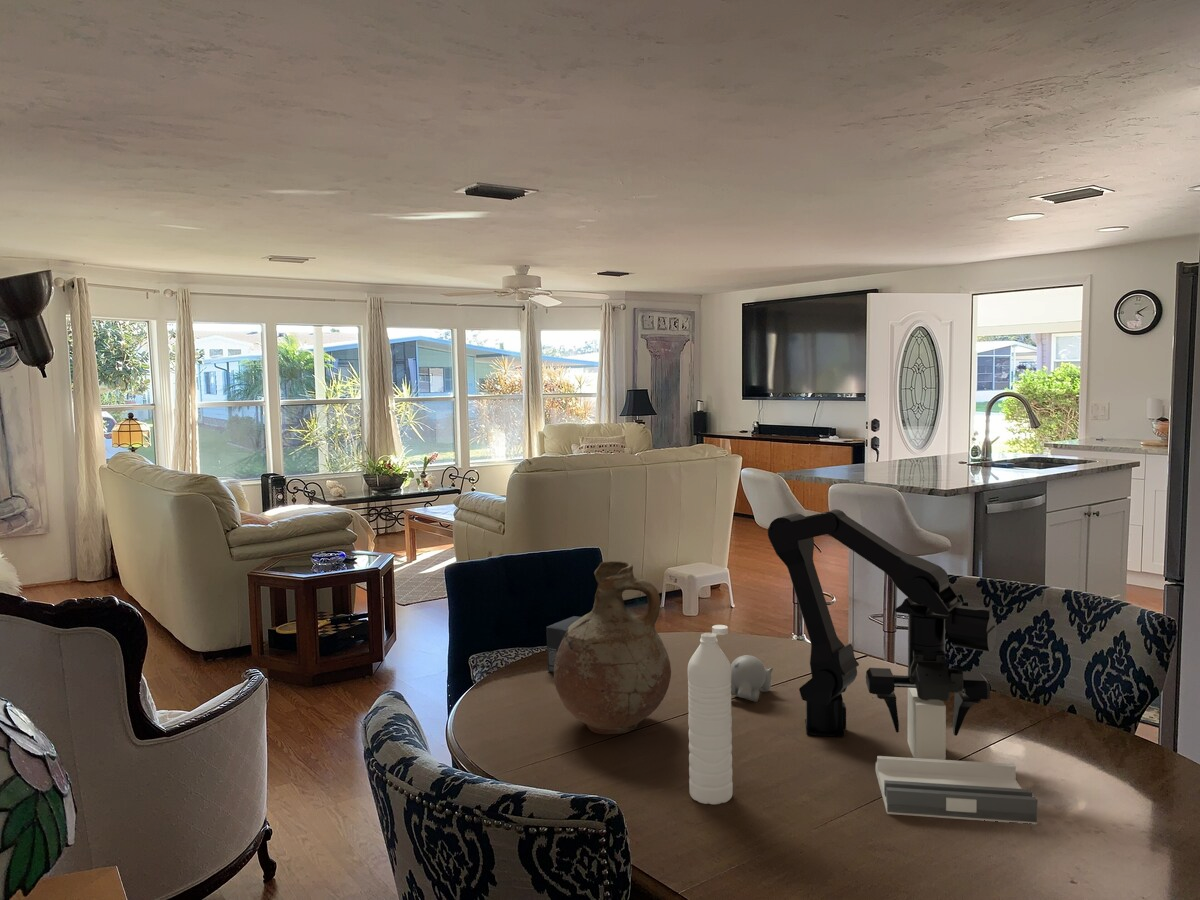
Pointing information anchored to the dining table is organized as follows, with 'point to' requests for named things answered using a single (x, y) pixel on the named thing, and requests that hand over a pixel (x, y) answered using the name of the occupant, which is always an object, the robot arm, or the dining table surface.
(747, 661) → the round bodied animal figurine
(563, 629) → the small box
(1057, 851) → the dining table surface
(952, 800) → the shelf
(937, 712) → the cream carton
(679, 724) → the dining table surface
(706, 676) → the water bottle
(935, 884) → the dining table surface
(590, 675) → the jug
